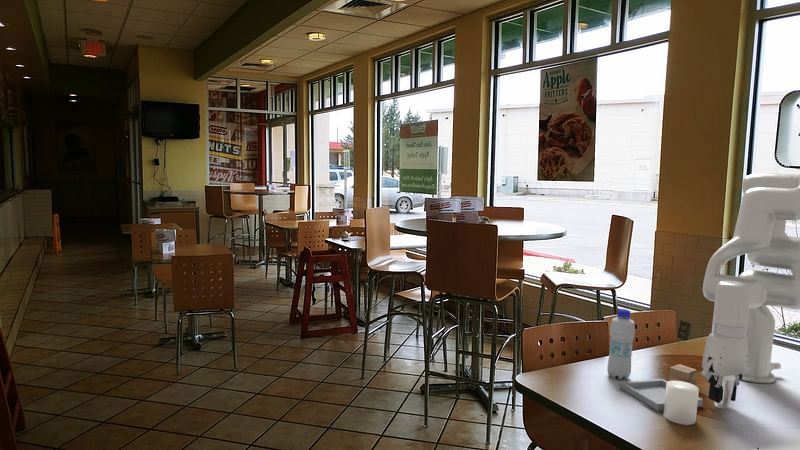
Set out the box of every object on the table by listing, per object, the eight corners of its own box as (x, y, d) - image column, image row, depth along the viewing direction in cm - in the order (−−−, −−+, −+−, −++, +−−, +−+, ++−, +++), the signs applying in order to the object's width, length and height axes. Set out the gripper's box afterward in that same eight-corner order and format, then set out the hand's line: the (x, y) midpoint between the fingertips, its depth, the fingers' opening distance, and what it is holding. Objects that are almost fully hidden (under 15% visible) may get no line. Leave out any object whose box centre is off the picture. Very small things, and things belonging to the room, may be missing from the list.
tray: (661, 385, 155) (662, 378, 155) (702, 406, 142) (702, 399, 142) (619, 389, 151) (620, 382, 151) (657, 411, 138) (657, 404, 138)
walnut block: (677, 381, 160) (678, 364, 159) (695, 386, 156) (696, 369, 155) (668, 384, 157) (670, 367, 156) (686, 390, 153) (688, 373, 152)
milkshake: (730, 404, 144) (735, 366, 143) (732, 412, 140) (737, 373, 138) (710, 400, 146) (715, 363, 145) (712, 407, 141) (717, 369, 140)
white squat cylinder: (679, 410, 139) (682, 379, 139) (702, 423, 133) (705, 390, 132) (656, 413, 137) (659, 381, 137) (678, 426, 131) (681, 393, 130)
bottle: (633, 382, 157) (639, 313, 155) (608, 379, 158) (613, 310, 156) (628, 374, 163) (634, 307, 161) (604, 371, 165) (609, 305, 162)
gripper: (741, 324, 147) (734, 391, 149) (690, 327, 142) (684, 396, 144) (768, 332, 139) (760, 403, 142) (715, 336, 135) (707, 409, 137)
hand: (721, 399), depth 143 cm, fingers closed on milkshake, 4 cm apart
